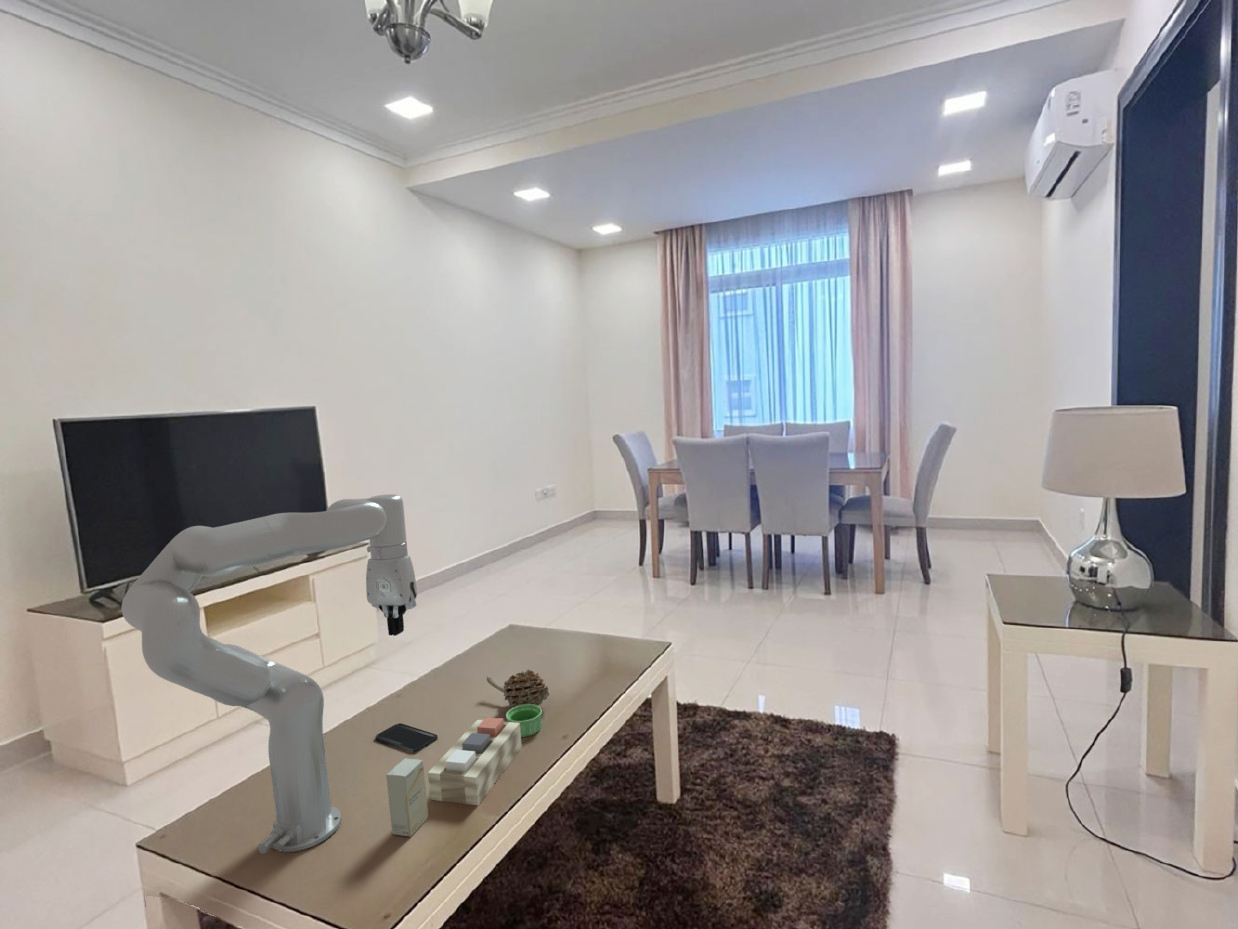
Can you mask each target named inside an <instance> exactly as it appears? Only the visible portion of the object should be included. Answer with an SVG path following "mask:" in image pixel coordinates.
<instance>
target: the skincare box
mask: <svg viewBox="0 0 1238 929" xmlns="http://www.w3.org/2000/svg"><path fill="white" fill-rule="evenodd" d="M385 776H386V786H387V794H388V805H389V814H390V824H391V825H390V826H391V834H392V835H398V836H404V837H412V836H413V835H414V834H415V833H416V832H417V831H418V830H419V828H420V827H422V826H423V824H424V823H425V822H426V821H427V820H428V818H429V808H428V799H427V798H428V797H427V789H426V780H425V768H424V760H423V759H420V758H412V757H404V758H403V759H402V760H401V761H400V762H398V763H397V764H396V765H395V766H394V767H393V768H392V769H391V770H389V771H388V772H387V773H386V774H385Z"/></svg>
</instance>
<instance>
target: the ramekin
mask: <svg viewBox="0 0 1238 929" xmlns="http://www.w3.org/2000/svg"><path fill="white" fill-rule="evenodd" d="M542 716H543V710H542V708H541V707H540V705H539V706H537V705H535V704H534V705H533V704H524V705H519V706H518V705H515V706H513V707H512V708H510V709H509V710H507V712H506V714H505V718H506V720H507V721H506V722H515V723H520V732H521V738H523V737H525V738H526V737H529V736H530V737H531V736H533V735H535V734H537V733H538V732H539V731H540V730H541V729H542ZM536 732H537V733H536Z"/></svg>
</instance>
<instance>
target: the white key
mask: <svg viewBox="0 0 1238 929" xmlns="http://www.w3.org/2000/svg"><path fill="white" fill-rule="evenodd" d="M475 762H476V754H475V751H465V750H456V751H455V752H454V753H453V754H452V755H451V756H450V757H449V758H448V759H447V760H446V771H455V772H464V773H467V772H468V771H469V769H470V768H471V767H472V766H473V765H474V763H475Z"/></svg>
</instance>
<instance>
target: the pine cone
mask: <svg viewBox="0 0 1238 929" xmlns="http://www.w3.org/2000/svg"><path fill="white" fill-rule="evenodd" d="M486 681H487V683H488V684H490V686H492V687H493V688H495V689H497V690H498V691H500V692H501V693H503V697H504V701H508V706H512V707H515V706H519V705H524V704H533V705H537V706H539V707H540V705H542V703H544V702H543V701H546V700H547V699H548V697H549V696H550V693H549V692H550V691H548V690H549V686H548V685H546V682H544V681H545V678H542V676H541V675H539V673H538V672H536V673H534V671H533V670H530V669H526V671H521V672H518V673H516V674H515V675H514V674H512V675H511V676H510V677H508V679H507V680H505V681H504V683H503V684H504V685H503V686H501V685H500V684H499V683H497V682H496V681H495V680H494V679H493V677H491V675H488V674H487V675H486Z"/></svg>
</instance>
